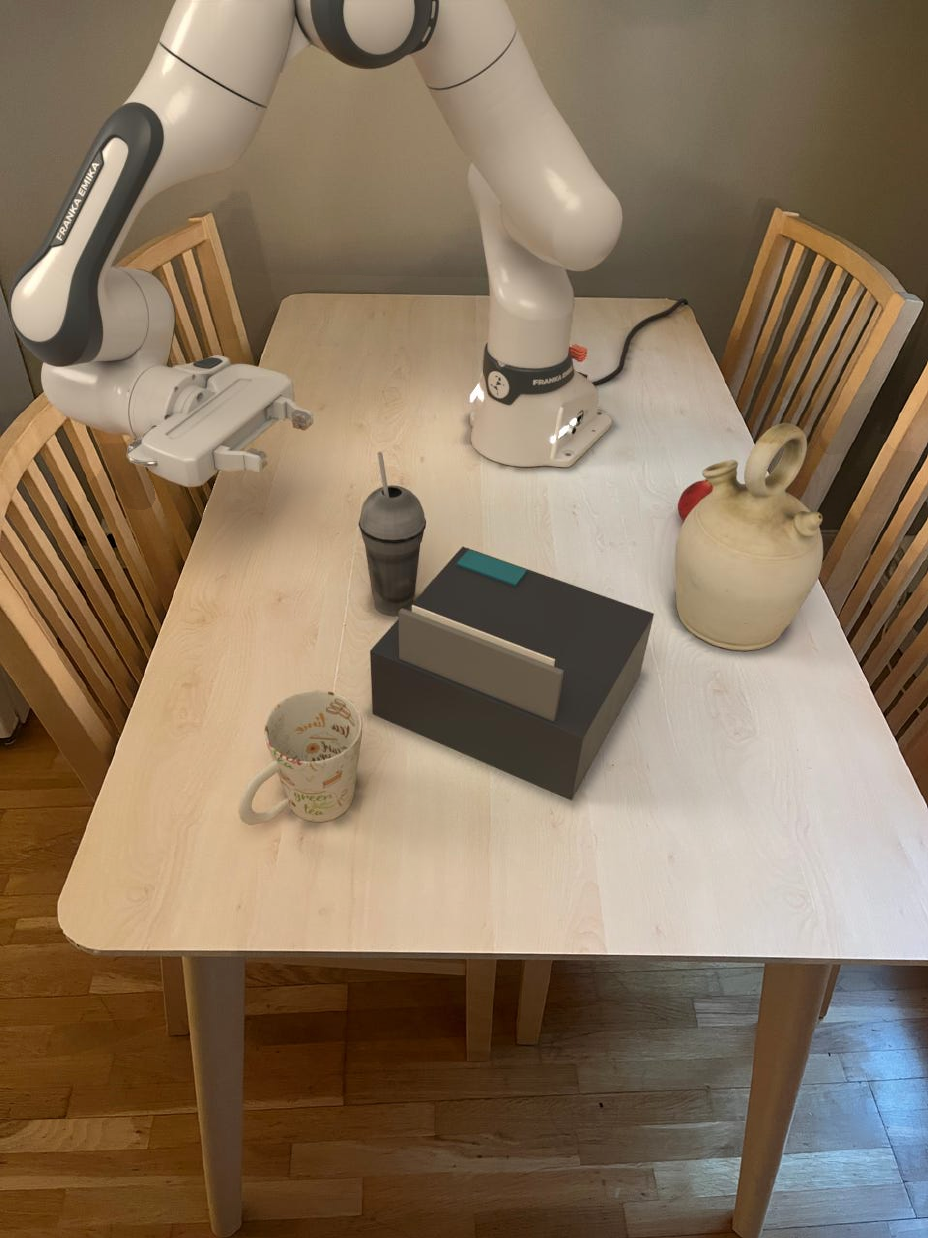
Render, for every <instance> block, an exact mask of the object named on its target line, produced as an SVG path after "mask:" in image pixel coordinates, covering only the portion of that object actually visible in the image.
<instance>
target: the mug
mask: <svg viewBox="0 0 928 1238" xmlns="http://www.w3.org/2000/svg"><path fill="white" fill-rule="evenodd" d="M362 736H363V719H362V716H361V713H360V711H359V709H358V707H357V706H356V705H355V704H354V703H353V701H351V700H350V699H348V698H347V697H346V696H344V695H341V694H339V693H336V692H333V691H328V690H320V689H319V690H307V691H302V692H298V693H294V694H293V695H289V696H288V697H287V698H284V699H283V700H281V701H280V702H279V703H277V705H275V707H273V709H272V710H271V711H270V712H269V714H268V716H267V718H266V721H265V724H264V737H265V742H266V746H267V748H268V750H269V751H268V752H269V754H270V756H271V759H272V762H270V763H269V764H267V765H266V766H265V767H264V768H262V769H260V770H259V771H257V773H256V774H254V775H253V776H252V778H251V779H250V780H249V782H248V783H247V784H246V786H245V788H244V790H243V792H242V794H241V796H240V800H239V803H238V816H239V819H240V820H241V822H242V823H244V824H245V825H248V826H256V825H260V824H266V823H268V822H270V821H271V820H273V819H274V818H275V817H277V816H278V815H279V814H280V813H282V811H284V809H286V808H287V806H289V807H290V809H291V810H292V812H293V813H294V814H295V815H296V816H298V817H299V818H300V819H302V820H305V821H307V822H311V823H325V822H329V821H333V820H335V819H337V818H339V817H340V816H342V815H343V814H344V813H345V812H346V811H348V810H349V808H350V806H351V805H352V802H353V799H354V795H355V788H356V782H357V774H358V773H357V772H358V767H359V759H360V752H361V751H360V750H361V743H362ZM275 774H277V776H278V778H279V781H280V783H281V786H282V789H283V792H284V795H285V797H286V798H284V799H282V800H281V801H279V802H278V803H276V804H275V805H274V806H272V807H271V808H269V809H268V810H266V811H264V812H261V813H260V812H259V813H258V812H255V811H254V810H253V807H252V806H253V800H254V798H255V796H256V794H257V792H258V791H259V789H260V788H261V786H262V785H263V784H264V783H266V781H268V780H269V779H270V778H272V777H273V776H274V775H275Z"/></svg>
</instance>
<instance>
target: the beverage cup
mask: <svg viewBox="0 0 928 1238" xmlns="http://www.w3.org/2000/svg"><path fill="white" fill-rule="evenodd" d="M377 458H378V466H379V471H380V472H379V473H380V478H381V479H380V480H381V484H382V485H381V487H378V488H377V489H376V490H374V491H372V492H371V493H370V494H369V495H368V496H367V497H366V499H365V500H364V501H363V504H362V507H361V510H360V515H359V520H358V528H359V531H360V533H361V537H362V540H363V543H364V548H365V554H366V561H367V568H368V576H369V581H370V589H371V594H372V598H373V603H374V608H375V610H376V611H377V612H379V613H380V614H382V615H384V616H387V617H399V611H400V610H401V609H402V608H403V609H405V610H407V609H408V607H409V606H410V605H411V604H412V603H413V602H414V601H415V596H416V589H417V588H416V587H417V579H418V570H419V561H420V551H421V543H422V542H423V538H424V535H425V530H426V528H427V527H426V526H427V519H426V516H425V511H424V508H423V506H422V503H421V502H420V500H419V498H418V496H416V494H414V493H413V492H412V491H411V490H409V489H408V488H405V487H403V486H399V485H392V484H391V485H388V481H387V475H386V469H385V462H384V455H383V452H382V451H378V452H377Z"/></svg>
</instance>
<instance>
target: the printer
mask: <svg viewBox="0 0 928 1238" xmlns="http://www.w3.org/2000/svg"><path fill="white" fill-rule="evenodd" d="M654 617H655V614H654V612H651V611H648V610H645V609H642V608H639V607H636V606H633V605H632V604H631V605H630V604H628V603H625V602H622V601H619V600H617V599H614V598H612V597H608V596H605V595H602V594H599V593H596V592H594V591H591V590H588V589H585V588H582V587H579V586H576V585H573V584H571V583H568V582H565V581H563V580H560V579H557V578H555V577H551V576H548V575H546V574H543V573H539V572H537V571H535V570H531V569H528V568H525V567H523V566H520V565H517V564H514V563H511V562H508V561H506V560H503V559H500V558H497V557H494V556H491V555H489V554H485V553H483V552H480V551H477V550H475V549H472V548H469V547H465V546H461V547H460V549H459V550H458V551H457V552H456V553H455V554H454V555H453V556H452V558H451V559H450V560H449V561H448V562H447V563H446V565H444V567H442V569H441V570H440V571H439V573H438V574H437V575H435V576H434V578H433V579H432V580H431V581H430V583H428V584H427V586H426V587H425V588H424V589H423V591H421V593H420V594H419V595H418V596H417V597H416V598H415V599H414V600H413V603H412V604H411V605H410V606H409V607H408V609H407V610H405V609H403V608H402V609H401V610H400V611H399V616H398V618H397V619H396V620H395V622H394V623H393V624H392V625H391V626H390V628H389V629H388V630H387V631H386V632H385V633H384V634H383V636H381V638H380V639H379V640H378V641H377V642H376V643H375V644H374V645H373V646H372V648H371V649H370V651H369V660H370V680H371V681H370V683H371V684H370V685H371V709H372V711H371V712H372V715H374V716H375V717H378V718H380V719H383V720H385V721H388V722H389V723H392V724H394V725H397V726H399V727H402V728H404V729H406V730H408V731H410V732H413V733H415V734H417V735H419V736H422V737H424V738H427V739H429V740H431V741H433V742H436V743H438V744H440V745H442V746H444V747H447V748H449V749H452V750H455V751H456V752H459V753H461V754H464V755H466V756H469V757H470V758H473V759H475V760H478V761H479V762H482V763H484V764H486V765H489V766H491V767H494V768H496V769H498V770H501V771H503V772H504V773H508V774H509V775H512V776H515V777H516V778H519V779H520V780H523V781H526V782H528V783H530V784H533V785H534V786H537V787H540V788H542V789H545V790H547V791H549V792H551V793H553V794H556V795H558V796H560V797H562V798H565V799H567V800H570V801H572V800H573V799H574V797H575V795H576V793H577V792H578V789H579V788H580V786H581V784H582V783H583V781H584V778H585V777H586V775H587V773H588V772H589V769H590V768H591V766H592V764H593V762H594V760H595V759H596V757H597V755H598V754H599V753H598V752H599V751H600V749H601V747H602V745H603V744H604V742H605V740H606V738H607V737H608V734H609V733H610V731H611V729H612V727H613V725H614V724H615V721H616V720H617V719H618V716H619V714H620V712H621V711H622V709H623V707H624V705H625V703H626V701H627V700H628V698H629V697H630V695H631V693H632V690H633V689H634V687H635V685H636V683H637V681H638V680H639V678H640V676H641V671H642V666H643V663H644V659H645V654H646V651H647V645H648V642H649V638H650V633H651V630H652V629H651V628H652V626H653V625H652V624H653V621H654Z"/></svg>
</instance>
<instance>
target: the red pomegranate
mask: <svg viewBox="0 0 928 1238" xmlns="http://www.w3.org/2000/svg"><path fill="white" fill-rule="evenodd" d="M712 490H713V486H712V485H711V483H709V481H708V480H707V479H706V478H705V479H703V480H698V481H695V482H693V483H691V484H690V485H689V486H687V487H686V488H685V489H684V490H683V492H682V493H681V495H680V497H679V499H678V503H677V512H678V515H679V517H680V519H681V521H682V522H683V523H684V521H685V519H686V517H687V516H688V515H689V513H690V512H691V511H692V509H693V508H694V507H695V506H696V505H697V504H698V503H699V502H700V501H701V500H702V499H703V498H705V497H706V496H707V495H709V494H710V493H711V492H712Z"/></svg>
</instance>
